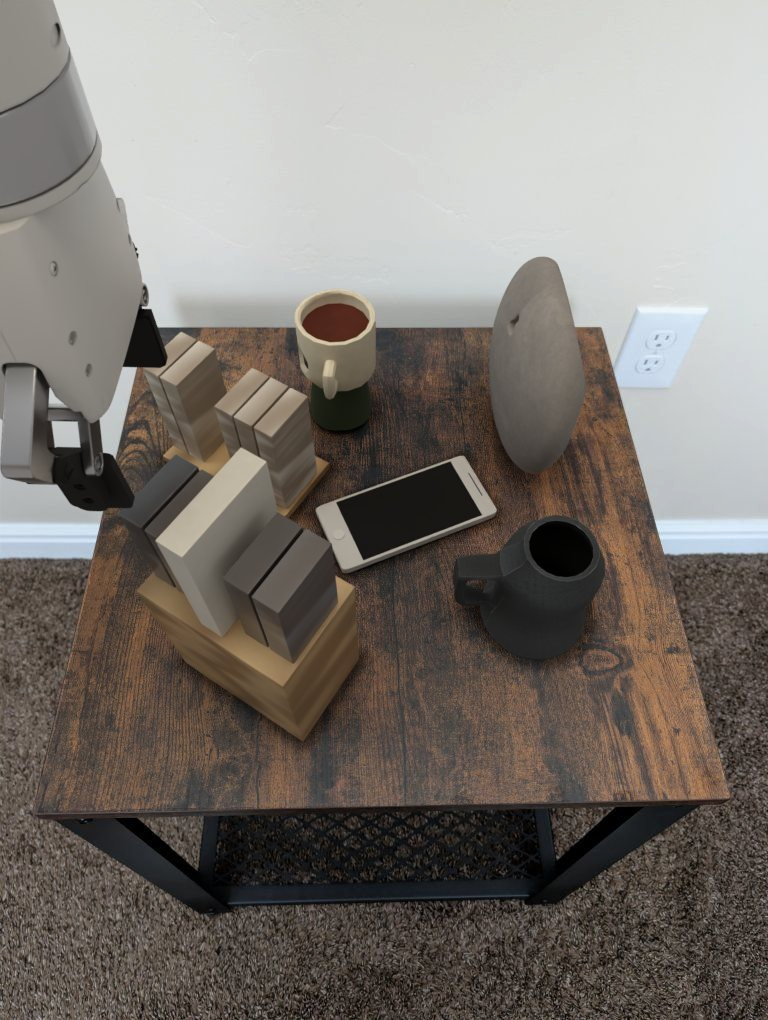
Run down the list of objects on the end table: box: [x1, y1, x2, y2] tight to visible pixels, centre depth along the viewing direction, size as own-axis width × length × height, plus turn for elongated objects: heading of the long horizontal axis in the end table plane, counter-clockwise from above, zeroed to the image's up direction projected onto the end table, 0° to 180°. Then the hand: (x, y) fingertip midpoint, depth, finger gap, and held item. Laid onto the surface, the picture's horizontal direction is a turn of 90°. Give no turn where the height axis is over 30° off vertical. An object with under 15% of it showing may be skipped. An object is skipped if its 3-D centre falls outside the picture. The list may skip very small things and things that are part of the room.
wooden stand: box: [117, 454, 360, 742], centre depth 49 cm, size 12×8×22 cm, turn 58°
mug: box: [452, 514, 606, 661], centre depth 56 cm, size 12×9×11 cm
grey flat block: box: [155, 448, 278, 637], centre depth 42 cm, size 2×7×11 cm, turn 148°
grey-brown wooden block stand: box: [141, 331, 330, 519], centre depth 63 cm, size 14×8×12 cm, turn 58°
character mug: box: [294, 288, 377, 432], centre depth 67 cm, size 11×7×13 cm, turn 174°
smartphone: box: [315, 455, 498, 574], centre depth 65 cm, size 7×16×1 cm, turn 114°
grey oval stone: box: [488, 256, 587, 475], centre depth 63 cm, size 18×7×19 cm, turn 3°
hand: (124, 428), depth 39 cm, fingers open, 9 cm apart
